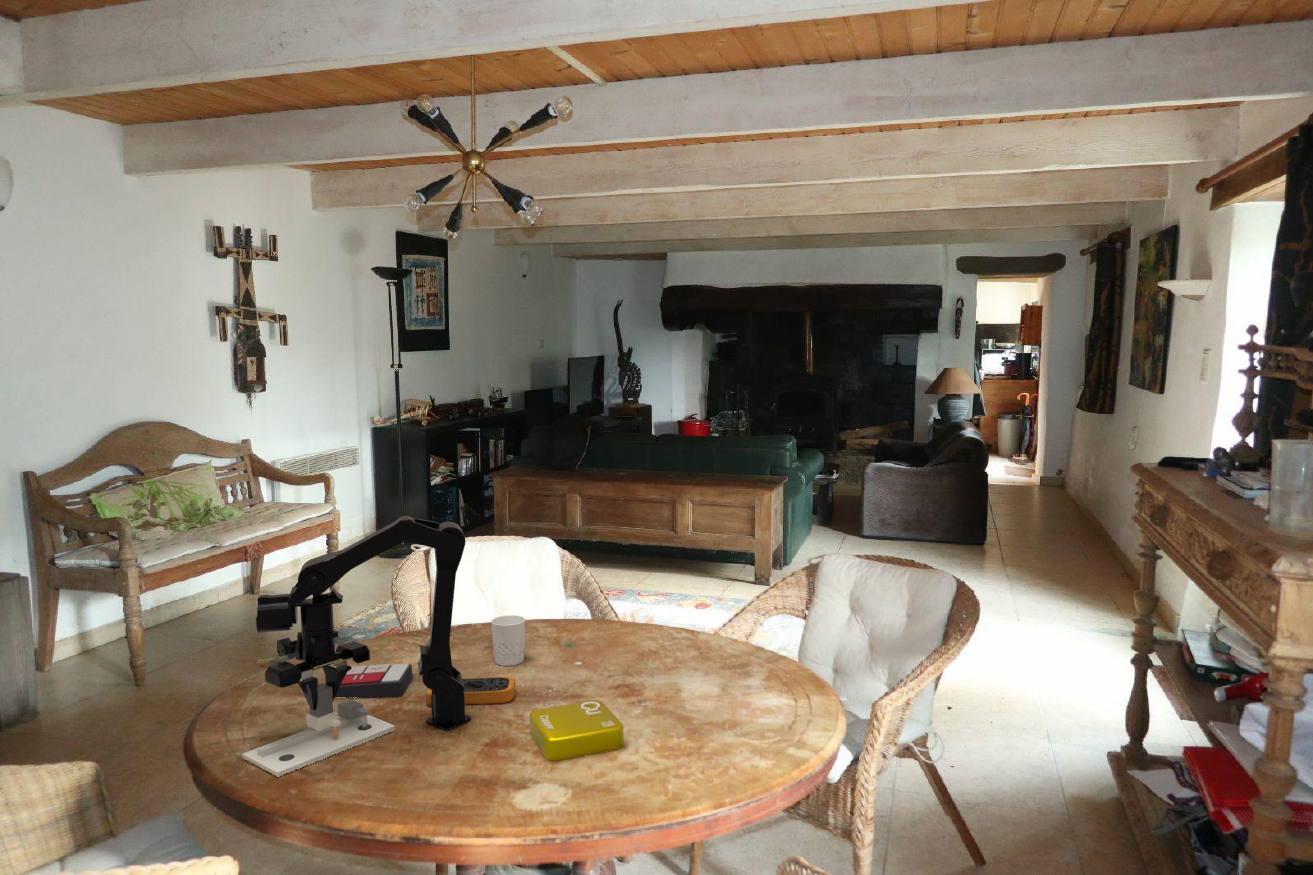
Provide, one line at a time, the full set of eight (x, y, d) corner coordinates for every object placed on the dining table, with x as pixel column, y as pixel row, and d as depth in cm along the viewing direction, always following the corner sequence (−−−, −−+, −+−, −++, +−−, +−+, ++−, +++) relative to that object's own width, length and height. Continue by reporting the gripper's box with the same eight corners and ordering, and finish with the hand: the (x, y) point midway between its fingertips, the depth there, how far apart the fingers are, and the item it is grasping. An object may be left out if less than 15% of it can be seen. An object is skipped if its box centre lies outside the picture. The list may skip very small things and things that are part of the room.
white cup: (488, 658, 212) (487, 617, 211) (520, 653, 216) (519, 613, 215) (497, 669, 205) (496, 627, 204) (530, 664, 209) (529, 622, 208)
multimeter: (513, 705, 185) (512, 689, 185) (425, 709, 184) (424, 692, 183) (516, 689, 194) (515, 674, 193) (431, 693, 192) (431, 677, 192)
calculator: (344, 665, 199) (411, 660, 200) (345, 684, 199) (413, 679, 200) (328, 683, 188) (400, 678, 189) (330, 703, 189) (401, 698, 189)
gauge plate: (395, 730, 172) (394, 707, 172) (277, 778, 153) (276, 752, 153) (358, 715, 180) (357, 693, 179) (242, 759, 161) (241, 734, 160)
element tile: (527, 731, 172) (526, 707, 172) (601, 719, 178) (600, 696, 178) (547, 764, 159) (547, 738, 158) (626, 750, 164) (626, 724, 164)
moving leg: (347, 734, 168) (346, 690, 167) (328, 741, 165) (326, 697, 164) (326, 724, 172) (324, 681, 171) (307, 731, 169) (304, 688, 168)
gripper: (337, 608, 180) (340, 682, 181) (247, 631, 165) (251, 712, 167) (370, 617, 173) (373, 695, 174) (279, 643, 158) (283, 727, 160)
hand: (321, 707), depth 169 cm, fingers closed on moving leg, 3 cm apart
